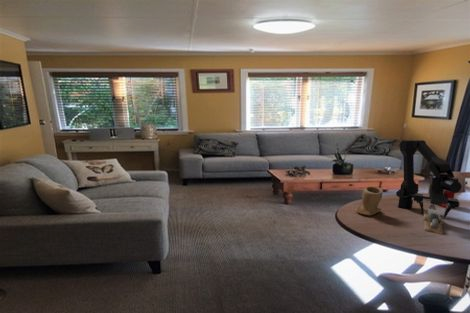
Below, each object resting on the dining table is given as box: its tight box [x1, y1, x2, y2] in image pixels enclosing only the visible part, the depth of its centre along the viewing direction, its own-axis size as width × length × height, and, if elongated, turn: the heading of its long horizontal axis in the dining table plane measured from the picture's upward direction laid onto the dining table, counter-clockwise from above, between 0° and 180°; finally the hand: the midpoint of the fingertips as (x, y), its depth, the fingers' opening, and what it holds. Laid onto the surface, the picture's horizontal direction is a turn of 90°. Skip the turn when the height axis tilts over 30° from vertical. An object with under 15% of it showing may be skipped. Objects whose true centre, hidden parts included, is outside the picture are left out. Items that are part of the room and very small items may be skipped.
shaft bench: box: [423, 204, 444, 235], centre depth 145 cm, size 8×27×5 cm, turn 148°
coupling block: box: [427, 208, 441, 222], centre depth 144 cm, size 6×5×5 cm
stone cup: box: [355, 185, 383, 216], centre depth 156 cm, size 15×12×15 cm
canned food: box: [437, 190, 456, 209], centre depth 166 cm, size 8×8×11 cm
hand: (433, 215), depth 145 cm, fingers open, 9 cm apart
